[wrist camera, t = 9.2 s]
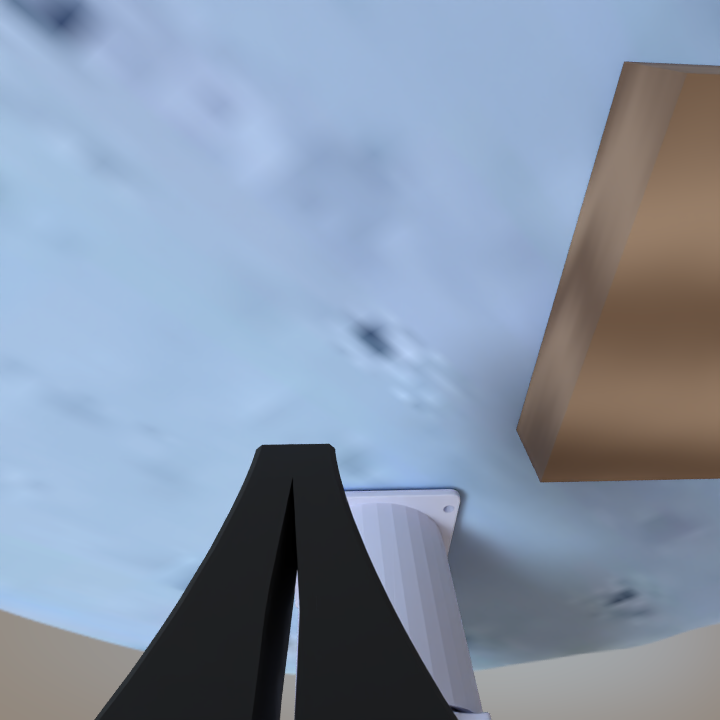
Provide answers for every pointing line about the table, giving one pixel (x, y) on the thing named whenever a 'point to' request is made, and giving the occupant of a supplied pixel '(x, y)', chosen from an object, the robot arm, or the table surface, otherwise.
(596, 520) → the table surface
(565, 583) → the table surface
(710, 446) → the board
